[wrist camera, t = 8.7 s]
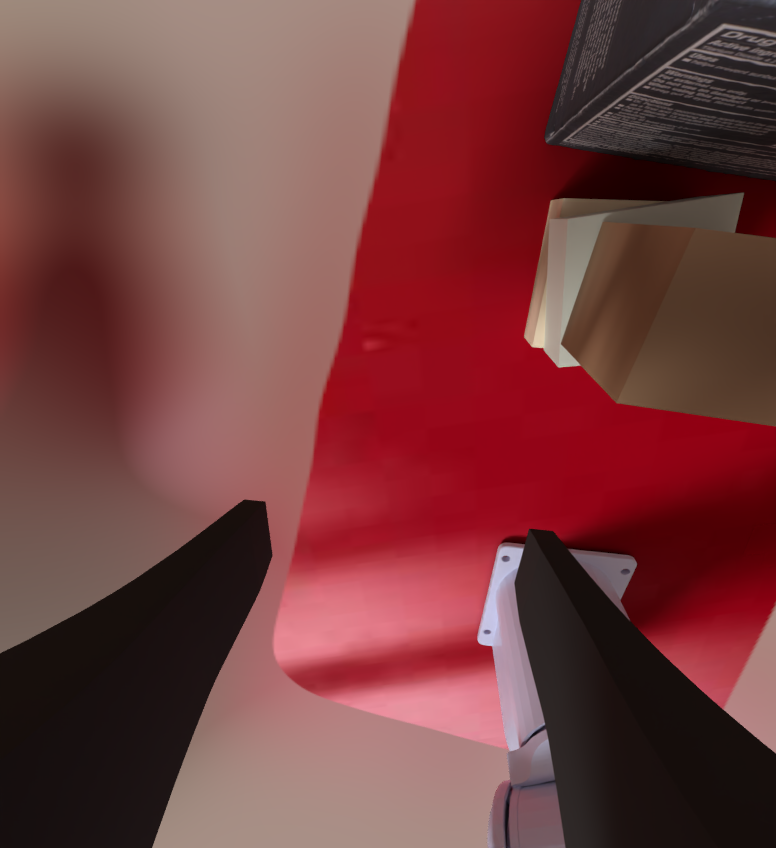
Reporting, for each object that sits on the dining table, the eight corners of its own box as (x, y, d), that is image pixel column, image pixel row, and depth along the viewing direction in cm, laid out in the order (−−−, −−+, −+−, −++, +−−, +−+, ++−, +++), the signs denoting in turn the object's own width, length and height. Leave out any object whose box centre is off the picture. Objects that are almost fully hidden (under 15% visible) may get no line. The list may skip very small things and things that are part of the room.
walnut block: (671, 359, 14) (777, 426, 10) (560, 343, 14) (616, 402, 10) (731, 238, 12) (898, 254, 8) (602, 221, 12) (695, 227, 8)
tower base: (642, 340, 18) (667, 355, 16) (521, 333, 18) (532, 346, 16) (689, 205, 15) (725, 203, 14) (547, 201, 16) (563, 198, 14)
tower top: (672, 337, 16) (706, 353, 14) (543, 350, 17) (558, 367, 15) (699, 196, 14) (744, 192, 12) (549, 219, 14) (568, 218, 12)
